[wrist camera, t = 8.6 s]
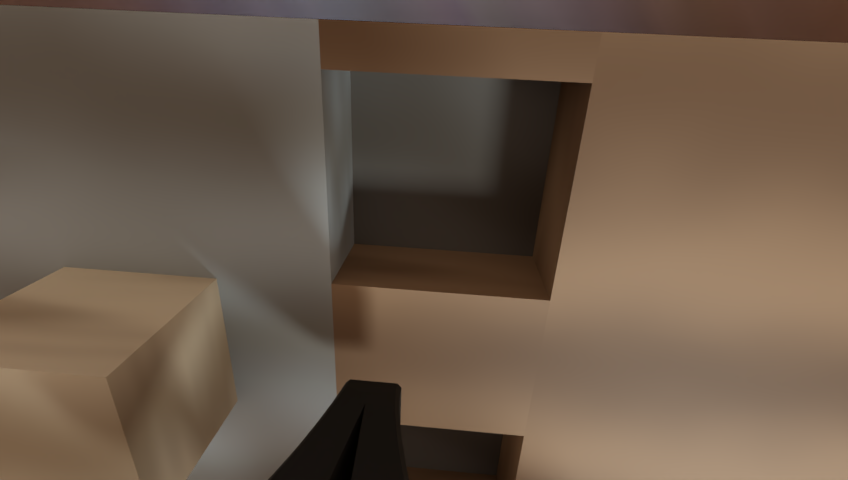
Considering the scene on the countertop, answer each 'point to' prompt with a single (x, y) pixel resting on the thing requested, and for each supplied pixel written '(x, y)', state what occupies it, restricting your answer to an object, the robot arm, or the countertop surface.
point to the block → (111, 376)
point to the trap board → (461, 229)
